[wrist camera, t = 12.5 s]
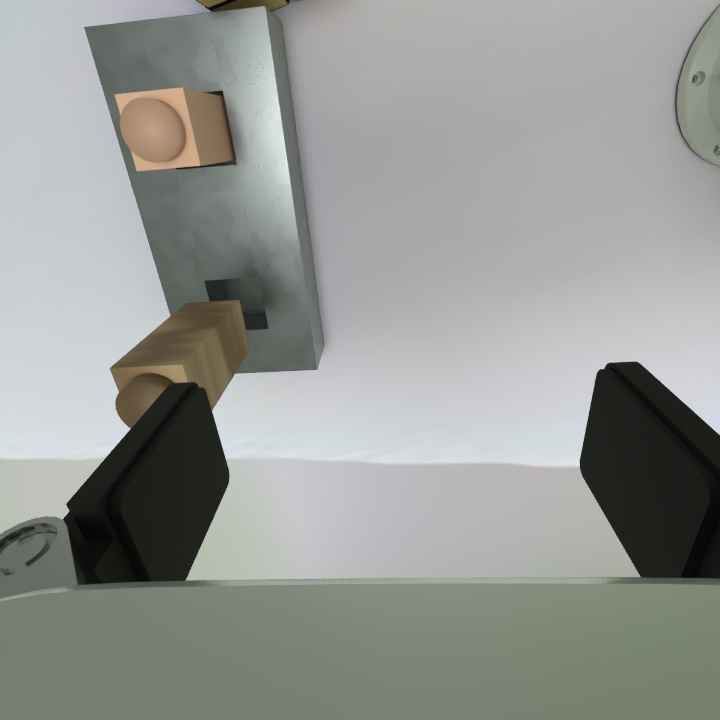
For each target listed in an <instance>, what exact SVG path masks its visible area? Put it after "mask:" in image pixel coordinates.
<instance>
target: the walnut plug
mask: <svg viewBox="0 0 720 720" xmlns="http://www.w3.org/2000/svg"><path fill="white" fill-rule="evenodd" d="M249 350H250V346H249V341H248V337H247V332H246V327H245V323H244V318H243V314H242V309H241V305H240V300H227V301H210V302H194V303H186V304H185V305H183V306H182V307H181V308H180V309H179V310H177V311H176V312H175V313H174V314H173V315H172V316H170V317H169V318H168V319H167V320H166V321H165V322H163V323H162V324H161V325H160V326H159V327H158V328H156V329H155V330H154V331H153V332H152V333H151V334H149V335H148V336H147V337H146V338H145V339H143V340H142V341H141V342H140V343H139V344H138V345H136V346H135V347H134V348H133V349H132V350H131V351H129V352H128V353H127V354H126V355H125V356H124V357H122V358H121V359H120V360H119V361H118V362H116V363H115V364H114V365H113V366H112V367H111V368H110V370H111V373H112V375H113V378H114V380H115V383H116V385H117V388H118V391H119V394H118V395H117V398H116V410H117V413H118V415H119V417H120V418H121V420H122V421H123V422H124V423H125V424H126V425H127V426H128V427H130V428H132V427H133V426H134V425H135V424H136V422H137V421H138V420H139V419H140V418H141V417H142V415H143V414H144V413H145V412H146V411H147V410H148V408H149V407H150V406H151V405H152V404H153V403H154V401H155V400H156V399H157V398H158V397H159V396H160V394H161V393H162V392H163V391H164V390H165V389H166V387H167V386H168V385H169V384H171V383H182V382H195V383H197V384H198V386H199V387H203V388H204V389H205V390H206V392H207V396H208V399H209V403H210V406H211V410H213V408H214V407H215V405H216V403H217V402H218V400H219V399H220V397H221V395H222V394H223V392H224V390H225V389H226V387H227V386H228V384H229V382H230V381H231V379H232V378H233V376H234V374H235V373H236V371H237V370H238V368H239V366H240V365H241V363H242V362H243V360H244V358H245V357H246V355H247V354H248V352H249Z"/></svg>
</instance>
